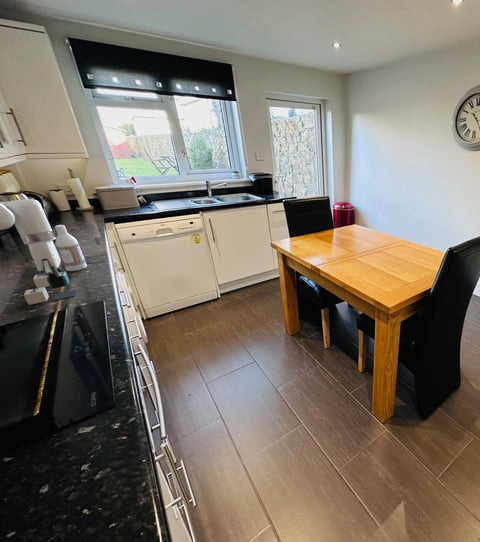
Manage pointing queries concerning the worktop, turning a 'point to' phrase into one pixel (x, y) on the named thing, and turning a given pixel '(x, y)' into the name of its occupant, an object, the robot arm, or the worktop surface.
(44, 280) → the tile
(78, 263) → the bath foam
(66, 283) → the tile
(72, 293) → the slot pad
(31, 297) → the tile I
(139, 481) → the worktop surface
